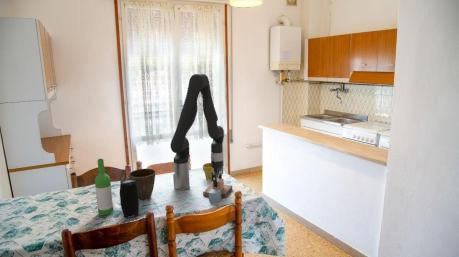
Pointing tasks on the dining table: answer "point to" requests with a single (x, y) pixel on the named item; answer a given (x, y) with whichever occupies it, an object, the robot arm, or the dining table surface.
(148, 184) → the plant pot
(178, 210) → the dining table surface
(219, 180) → the terracotta block
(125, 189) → the portable speaker
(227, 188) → the walnut board
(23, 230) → the dining table surface
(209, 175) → the plant pot
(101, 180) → the wine bottle
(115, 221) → the dining table surface
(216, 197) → the slate blue block
